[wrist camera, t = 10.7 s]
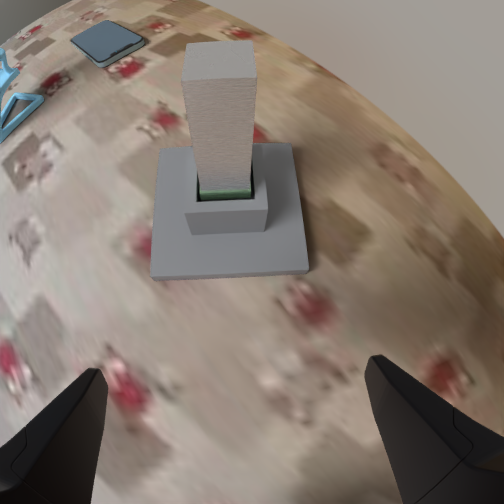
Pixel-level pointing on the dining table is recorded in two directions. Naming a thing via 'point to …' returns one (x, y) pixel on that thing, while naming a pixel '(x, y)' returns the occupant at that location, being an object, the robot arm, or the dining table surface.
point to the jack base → (228, 220)
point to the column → (221, 115)
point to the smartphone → (107, 43)
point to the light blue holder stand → (13, 98)
